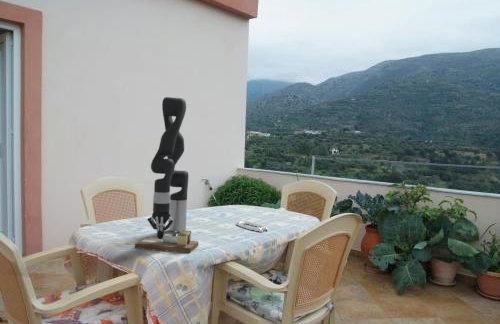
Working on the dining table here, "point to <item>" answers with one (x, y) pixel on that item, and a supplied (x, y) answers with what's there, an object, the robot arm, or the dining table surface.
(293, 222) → the dining table surface
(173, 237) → the bolt
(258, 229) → the door handle
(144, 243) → the door panel
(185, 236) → the keeper
